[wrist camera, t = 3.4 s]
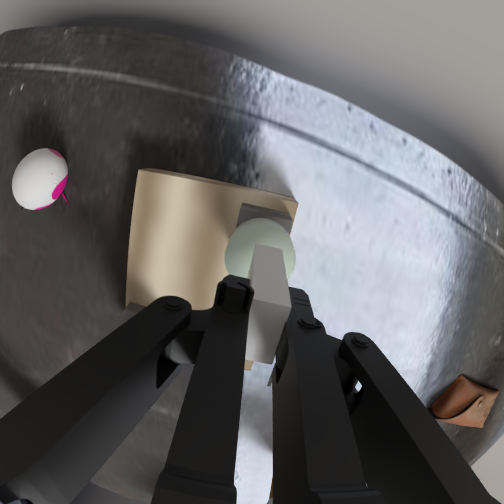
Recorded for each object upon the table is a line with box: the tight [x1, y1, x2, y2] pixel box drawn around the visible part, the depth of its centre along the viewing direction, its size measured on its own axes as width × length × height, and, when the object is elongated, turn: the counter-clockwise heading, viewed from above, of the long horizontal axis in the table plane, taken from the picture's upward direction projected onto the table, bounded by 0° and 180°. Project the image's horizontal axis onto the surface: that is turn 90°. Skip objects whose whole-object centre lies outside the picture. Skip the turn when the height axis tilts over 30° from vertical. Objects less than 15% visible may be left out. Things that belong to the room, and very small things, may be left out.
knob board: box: [118, 168, 298, 371], centre depth 27 cm, size 14×18×6 cm
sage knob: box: [224, 218, 296, 280], centre depth 21 cm, size 4×4×5 cm
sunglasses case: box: [427, 375, 499, 428], centre depth 36 cm, size 18×7×7 cm, turn 64°
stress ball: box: [12, 148, 69, 210], centre depth 26 cm, size 8×8×7 cm
